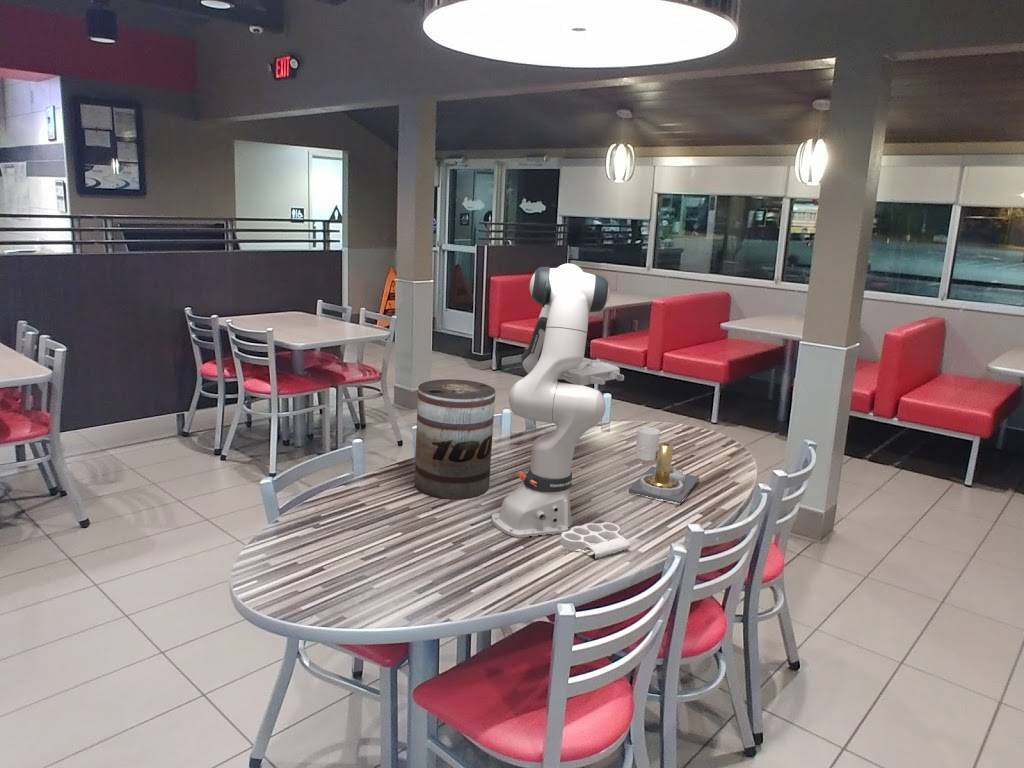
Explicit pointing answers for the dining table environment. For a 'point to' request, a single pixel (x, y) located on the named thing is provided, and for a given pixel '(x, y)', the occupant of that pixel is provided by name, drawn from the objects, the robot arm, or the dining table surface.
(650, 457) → the white cup
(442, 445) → the barrel
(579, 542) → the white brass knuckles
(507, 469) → the dining table surface
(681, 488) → the board
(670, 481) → the gold metal upright post
